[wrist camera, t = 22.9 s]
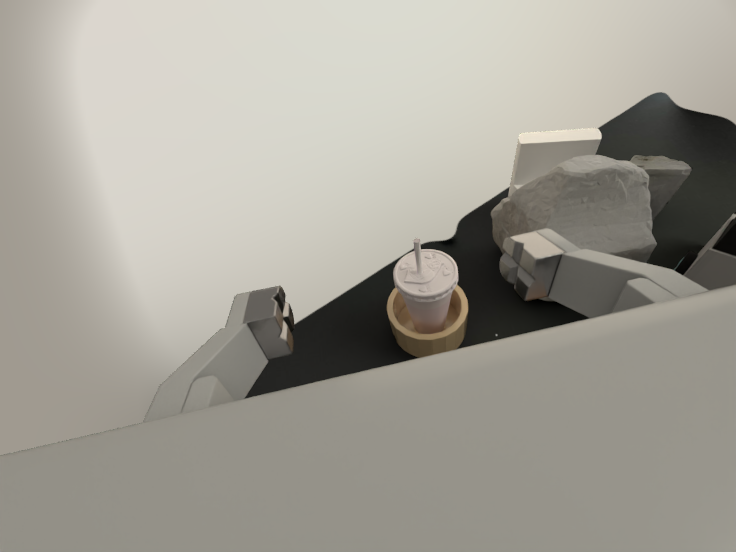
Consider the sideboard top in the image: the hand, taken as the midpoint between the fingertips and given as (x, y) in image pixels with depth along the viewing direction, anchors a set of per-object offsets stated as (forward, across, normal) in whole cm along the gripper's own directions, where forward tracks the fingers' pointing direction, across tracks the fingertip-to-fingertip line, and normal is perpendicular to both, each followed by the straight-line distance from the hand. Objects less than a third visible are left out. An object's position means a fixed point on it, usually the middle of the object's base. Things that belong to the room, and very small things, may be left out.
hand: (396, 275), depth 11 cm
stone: (+18, -24, +19) cm, 36 cm away
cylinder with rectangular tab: (+29, -29, +17) cm, 44 cm away
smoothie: (+15, -6, +21) cm, 27 cm away
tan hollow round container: (+16, -6, +21) cm, 27 cm away
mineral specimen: (+24, -39, +17) cm, 49 cm away
